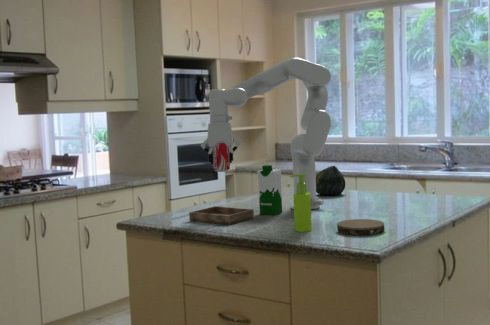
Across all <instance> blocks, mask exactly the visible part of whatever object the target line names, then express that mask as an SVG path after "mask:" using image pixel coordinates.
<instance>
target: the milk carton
mask: <svg viewBox="0 0 490 325" xmlns="http://www.w3.org/2000/svg"><path fill="white" fill-rule="evenodd" d="M261 168H262V169H260V170H257V171H256V174H257V180H258V201H259V202H258V204H259V215H266V216H267V215H269V216H276V215H279V214H280V213H283V202H282V201H283V200H282V198H283V197H282V169H280V168H279V169H278V168H275V169H273V165H272V164H271V165H270V164H267V165H265V164H264V165H262V166H261Z"/></svg>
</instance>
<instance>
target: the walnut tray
mask: <svg viewBox="0 0 490 325" xmlns="http://www.w3.org/2000/svg"><path fill="white" fill-rule="evenodd" d="M254 214H255V212H254V209H252V208H242V207H229V206H217V205H216V206H215V205H214V206H210V207H205V208H201V209H198V210H192V211H190V212H189V213H188V216H189V218H188V219H189V222H197V223H205V224H213V223H214V224H215V225H223V226H231V225H235V224H238V223H241V222H245V221H248V220H252V219H255V216H254Z"/></svg>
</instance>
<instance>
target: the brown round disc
mask: <svg viewBox="0 0 490 325" xmlns="http://www.w3.org/2000/svg"><path fill="white" fill-rule="evenodd" d="M336 225H337V226H336V227H337V228H336V230H337V233H338V234H340V235H344V236H351V237H352V236H354V237H358V236H359V237H370V236H377V235H380V234H381V235H382V234H383V233H384V232H385V222H384V221H382V220H377V219H370V218H369V219H368V218H355V219H354V218H353V219H344V220H341V221H338V222H337V224H336Z"/></svg>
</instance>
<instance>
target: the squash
mask: <svg viewBox="0 0 490 325" xmlns="http://www.w3.org/2000/svg"><path fill="white" fill-rule="evenodd" d="M315 175H316V194H318V195H319V196H325V195H332V196H339V195H341V194H343V192H344V191H345V189H346V180H345V178H344V175H343V174H342V172H341V171H340V170H339V169H338V167H337V166H336V165H331V166H328V167H326V168H324V169H322V170H320V171H319V172H318V173H317V174H315Z"/></svg>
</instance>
